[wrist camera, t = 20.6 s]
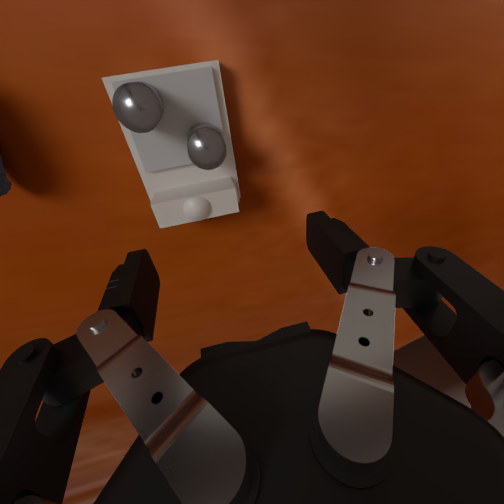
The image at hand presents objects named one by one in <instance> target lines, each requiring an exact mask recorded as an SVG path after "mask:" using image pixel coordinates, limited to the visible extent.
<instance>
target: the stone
mask: <svg viewBox="0 0 504 504" xmlns="http://www.w3.org/2000/svg"><path fill="white" fill-rule="evenodd" d="M10 188H11V182H10V181H9V180H8V179H7V177H6V173H5V169H4V164H3V161H2V156H1V154H0V196H1V195H4V194H7V193H8V191H9V190H10Z"/></svg>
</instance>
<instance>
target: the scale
mask: <svg viewBox="0 0 504 504" xmlns="http://www.w3.org/2000/svg"><path fill="white" fill-rule="evenodd" d="M102 80H103V82H104V85H105V88H106V90H107V93H108V95H109V98H110V100H111V103H112V99H113V95H114V92H115V91H116V89H117V88H118V87H119V86H121V85H122V84H125V83H129V82H136V81H142V82H146V83H148V84H150V85H152V86H153V87H154V88H156V89H157V91H158V92H159V93H160V95H161V97H162V99H163V102H164V114H163V116H162V118H161V120H160V121H159V123H158V125H157V126H156V127H155V128H154V129H153V130H152V131H150V132H147V133H136V132H133V131H131V130H129V129H127V128H126V127H125V126H123V125H122V124H121V123H120V121H119V123H120V125H121V128H122V130H123V133H124V135H125V138H126V140H127V143H128V145H129V148H130V150H131V153H132V155H133V158H134V161H135V163H136V166H137V168H138V171H139V173H140V176H141V178H142V181H143V183H144V186H145V188H146V191H147V193H148V196H149V198H150V201H151V207H152V210H153V212H154V215H155V217H156V220H157V222H158V225H159V227H160V228H164V227H169V226H174V225H179V224H183V223H188V222H193V221H201V220H204V219H207V218H212V217H217V216H221V215H226V214H231V213H236V212H239V207H238V203H239V200H240V197H241V196H240V189H239V183H238V177H237V171H236V165H235V159H234V153H233V147H232V141H231V134H230V128H229V122H228V116H227V110H226V104H225V98H224V92H223V85H222V79H221V73H220V67H219V61H218V60H214V61H208V62H201V63H195V64H188V65H182V66H175V67H169V68H162V69H155V70H149V71H142V72H136V73H129V74H123V75H116V76H110V77H103V78H102ZM200 122H207V123H210V124H212V125H214V126H215V127H216V128H217V129H218V131H219V132H220V134H221V136H222V138H223V140H224V141H225V144H226V149H227V153H226V157H225V160H224V162H223V163H222V164H221V165H220V166H219V167H217V168H215V169H212V170H204V169H201V168H198V167H197V166H195V165H194V164H193V163H192V161H191V160H190V158H189V156H188V152H187V136H188V132H189V130H190V129H191V127H192V126H194V125H195V124H197V123H200Z"/></svg>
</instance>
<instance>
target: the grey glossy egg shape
mask: <svg viewBox="0 0 504 504" xmlns="http://www.w3.org/2000/svg"><path fill="white" fill-rule="evenodd" d="M112 105H113V110H114V113H115V115H116V117H117V119H118V120H119V121H120V123H121V124H122V125H123V126H125V127H126V128H127V129H129V130H131V131H133V132H136V133H147V132H150V131H152V130H153V129H154V128H155V127H156V126H157V125H158V123H159V121H160V120H161V118H162V116H163V114H164V102H163V99H162V97H161V95H160V93H159V92H158V91H157V89H156V88H154V87H153V86H152V85H150V84H148V83H146V82H142V81H136V82H129V83H125V84H122V85H121V86H119V87H118V88H117V89H116V91H115V92H114V95H113V99H112Z"/></svg>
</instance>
